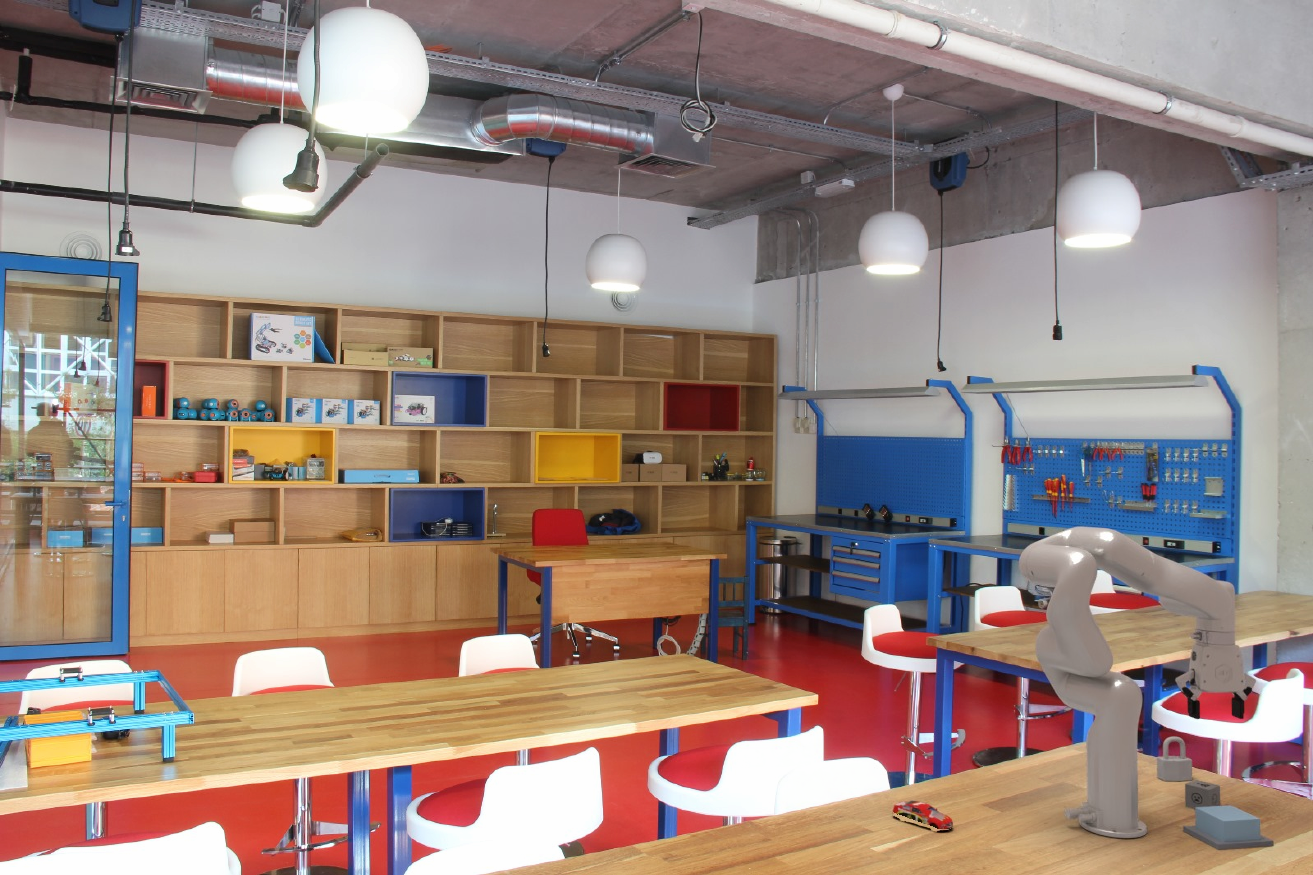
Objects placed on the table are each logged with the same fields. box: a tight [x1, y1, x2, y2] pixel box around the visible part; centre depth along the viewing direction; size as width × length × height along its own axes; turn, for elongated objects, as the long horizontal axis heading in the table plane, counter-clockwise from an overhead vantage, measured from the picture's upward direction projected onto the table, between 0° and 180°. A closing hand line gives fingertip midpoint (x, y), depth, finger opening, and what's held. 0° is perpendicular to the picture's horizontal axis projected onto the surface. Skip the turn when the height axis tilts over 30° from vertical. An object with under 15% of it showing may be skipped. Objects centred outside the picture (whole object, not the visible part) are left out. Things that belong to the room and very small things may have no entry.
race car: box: [892, 800, 954, 829], centre depth 209 cm, size 13×5×4 cm, turn 40°
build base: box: [1182, 804, 1275, 851], centre depth 201 cm, size 12×10×5 cm
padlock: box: [1156, 736, 1193, 782], centre depth 239 cm, size 7×4×10 cm, turn 95°
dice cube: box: [1184, 779, 1221, 810], centre depth 219 cm, size 5×5×5 cm
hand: (1215, 717), depth 218 cm, fingers open, 9 cm apart
